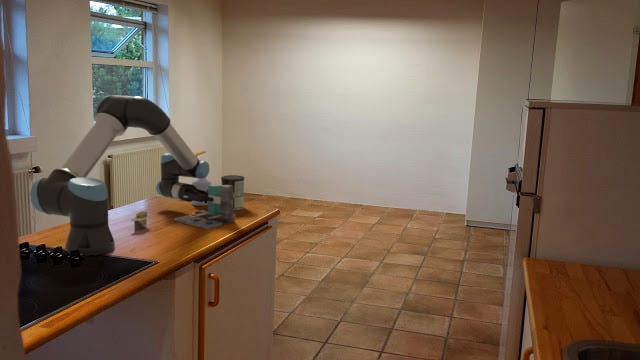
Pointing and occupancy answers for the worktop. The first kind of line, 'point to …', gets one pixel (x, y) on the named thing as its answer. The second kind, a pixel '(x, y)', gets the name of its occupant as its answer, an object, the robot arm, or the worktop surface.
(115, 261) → the worktop surface
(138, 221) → the potted plant
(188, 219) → the plate
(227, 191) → the grey l-shaped piece
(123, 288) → the worktop surface
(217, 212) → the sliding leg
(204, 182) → the soap bottle
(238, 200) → the coffee can
